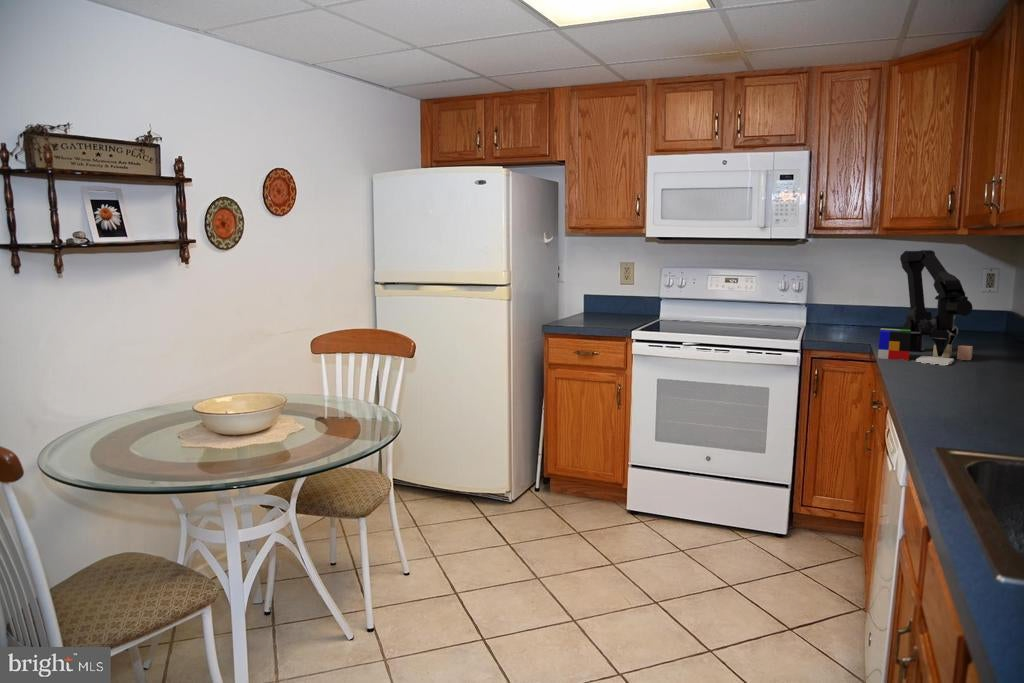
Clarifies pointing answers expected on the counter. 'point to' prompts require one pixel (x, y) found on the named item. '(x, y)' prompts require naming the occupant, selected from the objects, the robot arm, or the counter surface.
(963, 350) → the terracotta brick
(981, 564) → the counter surface
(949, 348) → the maple brick
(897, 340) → the puzzle toy
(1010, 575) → the counter surface
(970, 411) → the counter surface
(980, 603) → the counter surface
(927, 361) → the building plate
